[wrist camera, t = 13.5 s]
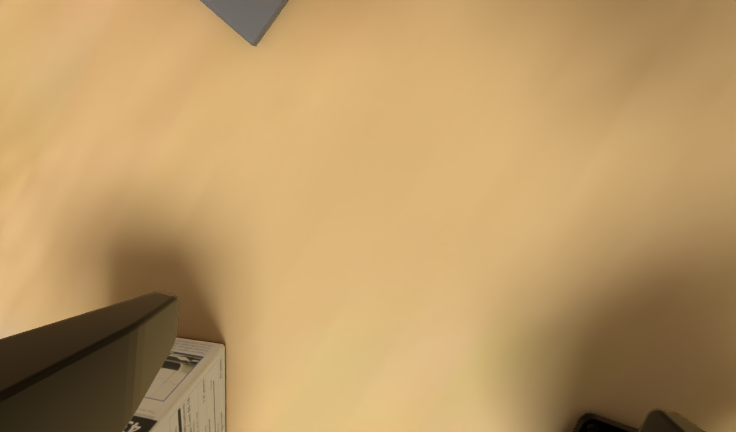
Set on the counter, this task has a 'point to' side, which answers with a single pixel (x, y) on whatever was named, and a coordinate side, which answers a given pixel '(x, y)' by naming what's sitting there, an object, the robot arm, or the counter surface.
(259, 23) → the plate
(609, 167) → the counter surface
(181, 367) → the light bulb box
